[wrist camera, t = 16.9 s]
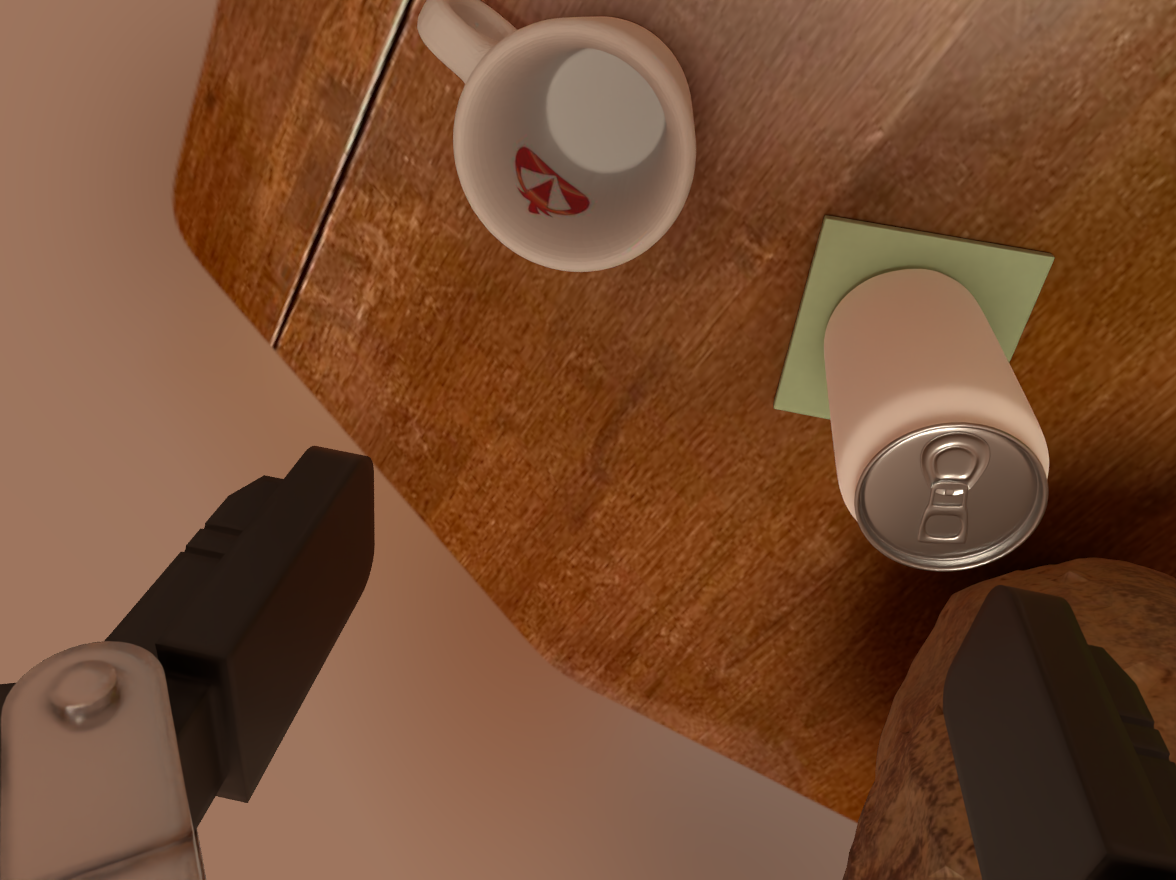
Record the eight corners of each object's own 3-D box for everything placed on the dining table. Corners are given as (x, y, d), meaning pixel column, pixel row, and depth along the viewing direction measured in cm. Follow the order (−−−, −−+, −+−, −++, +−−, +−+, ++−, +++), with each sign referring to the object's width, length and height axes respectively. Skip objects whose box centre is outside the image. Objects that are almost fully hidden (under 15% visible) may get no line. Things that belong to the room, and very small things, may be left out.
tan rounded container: (936, 346, 37) (1145, 921, 16) (1435, 507, 37) (2286, 1295, 16) (749, 681, 50) (732, 1250, 29) (1122, 803, 50) (1377, 1464, 29)
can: (995, 263, 34) (1086, 413, 24) (971, 405, 38) (1042, 588, 28) (827, 264, 36) (848, 409, 26) (818, 402, 39) (833, 577, 29)
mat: (773, 403, 40) (773, 408, 40) (824, 214, 35) (825, 218, 35) (971, 441, 39) (973, 447, 39) (1052, 253, 34) (1055, 257, 34)
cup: (418, 76, 35) (335, 119, 29) (526, -111, 31) (459, -112, 24) (626, 243, 37) (594, 319, 31) (753, 89, 33) (748, 137, 26)
